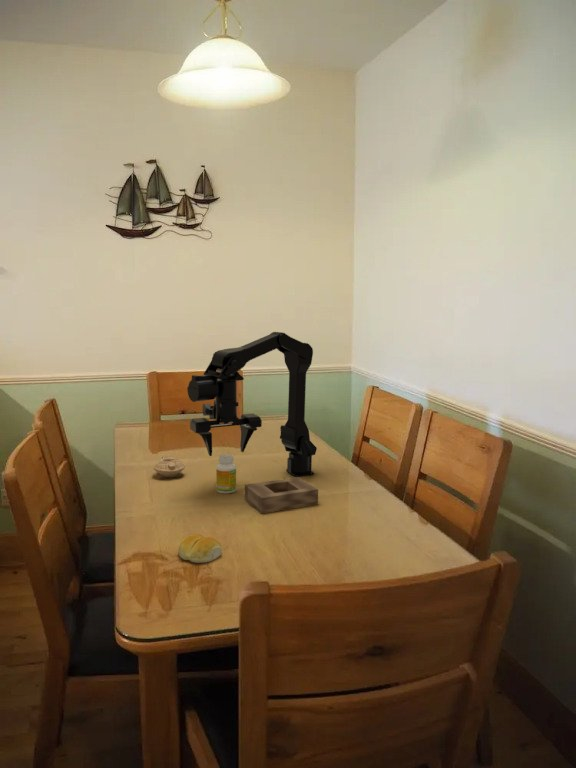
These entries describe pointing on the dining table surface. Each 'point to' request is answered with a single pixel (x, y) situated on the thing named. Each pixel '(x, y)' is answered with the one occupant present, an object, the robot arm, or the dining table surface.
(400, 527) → the dining table surface
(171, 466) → the pottery oil lamp
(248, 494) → the walnut holder
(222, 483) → the supplement bottle
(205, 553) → the bread roll
